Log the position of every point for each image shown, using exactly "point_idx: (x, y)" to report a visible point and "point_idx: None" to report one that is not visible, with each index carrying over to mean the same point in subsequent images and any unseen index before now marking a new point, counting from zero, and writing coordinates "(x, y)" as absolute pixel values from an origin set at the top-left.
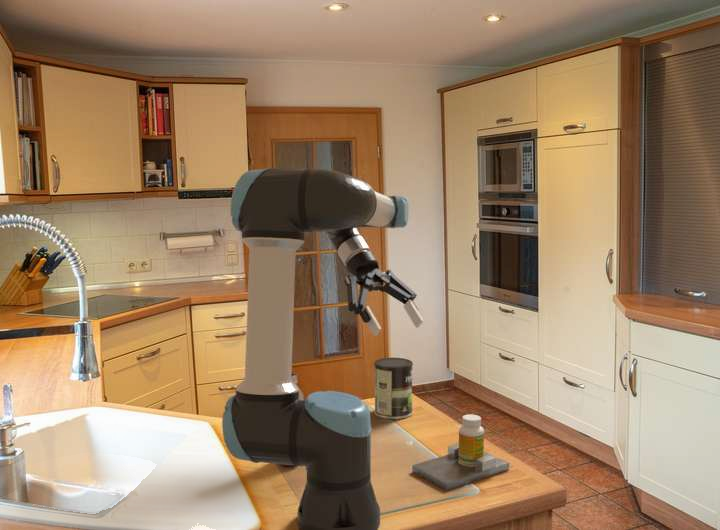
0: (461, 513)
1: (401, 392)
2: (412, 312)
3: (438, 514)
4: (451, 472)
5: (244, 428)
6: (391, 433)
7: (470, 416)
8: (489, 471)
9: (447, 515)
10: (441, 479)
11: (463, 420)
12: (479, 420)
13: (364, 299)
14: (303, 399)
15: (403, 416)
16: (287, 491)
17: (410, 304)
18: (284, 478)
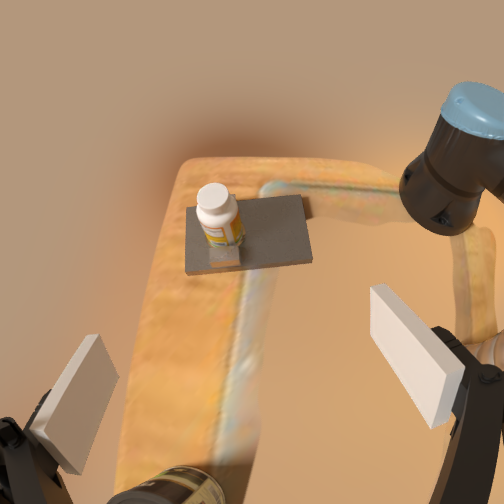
0: (315, 158)
1: (175, 479)
2: (84, 397)
3: (338, 166)
4: (275, 215)
5: None
6: (252, 418)
7: (211, 198)
8: None
9: (330, 161)
10: (300, 205)
11: (228, 198)
12: (209, 184)
13: (477, 422)
14: (499, 339)
15: (186, 467)
16: (474, 285)
17: (59, 413)
18: (472, 322)
